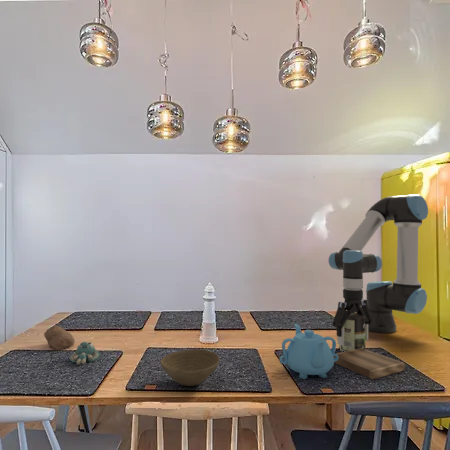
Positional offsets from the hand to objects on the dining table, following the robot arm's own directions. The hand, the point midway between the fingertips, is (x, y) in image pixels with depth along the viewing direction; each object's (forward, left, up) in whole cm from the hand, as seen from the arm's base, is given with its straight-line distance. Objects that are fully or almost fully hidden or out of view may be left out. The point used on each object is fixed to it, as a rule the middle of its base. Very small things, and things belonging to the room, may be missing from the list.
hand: (353, 342), depth 144 cm
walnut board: (+9, +14, -3) cm, 17 cm away
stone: (+102, -61, -4) cm, 119 cm away
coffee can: (0, -1, -4) cm, 4 cm away
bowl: (+70, -1, -4) cm, 70 cm away
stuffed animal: (+96, -39, -4) cm, 104 cm away
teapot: (+31, +9, -4) cm, 32 cm away
